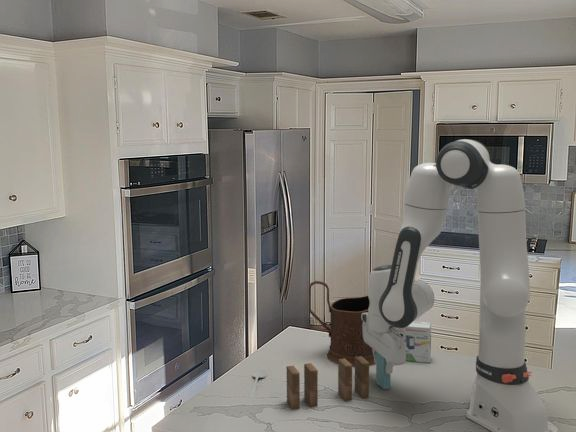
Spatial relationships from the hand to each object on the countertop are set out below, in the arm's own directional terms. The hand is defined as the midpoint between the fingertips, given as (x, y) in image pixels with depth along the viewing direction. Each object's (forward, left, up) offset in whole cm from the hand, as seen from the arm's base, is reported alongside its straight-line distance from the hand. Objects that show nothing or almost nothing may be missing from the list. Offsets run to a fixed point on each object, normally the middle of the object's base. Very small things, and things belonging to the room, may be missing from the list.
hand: (383, 368), depth 165 cm
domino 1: (-3, +28, -5) cm, 29 cm away
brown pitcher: (+24, +1, -6) cm, 25 cm away
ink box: (+14, -19, -6) cm, 24 cm away
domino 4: (-3, +8, -5) cm, 10 cm away
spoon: (+12, +35, -6) cm, 37 cm away
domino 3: (-3, +13, -5) cm, 14 cm away
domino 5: (0, 0, -5) cm, 5 cm away
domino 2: (-3, +23, -5) cm, 24 cm away
